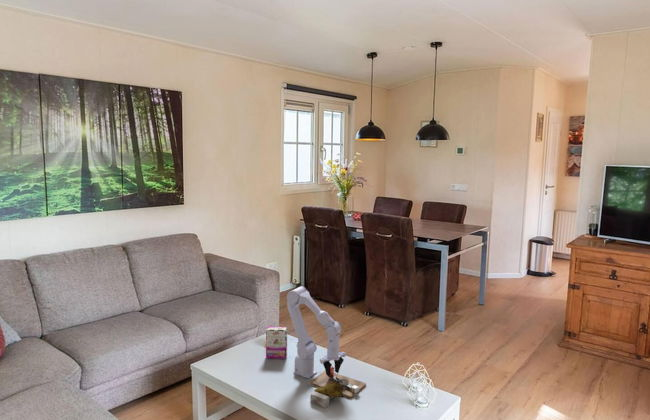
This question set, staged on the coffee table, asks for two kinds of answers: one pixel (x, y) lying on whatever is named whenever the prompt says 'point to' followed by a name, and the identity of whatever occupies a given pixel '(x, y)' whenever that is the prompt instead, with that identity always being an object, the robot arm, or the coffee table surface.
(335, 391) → the potato
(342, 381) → the lever
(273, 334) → the candy bar box
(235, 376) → the coffee table surface
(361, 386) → the board
